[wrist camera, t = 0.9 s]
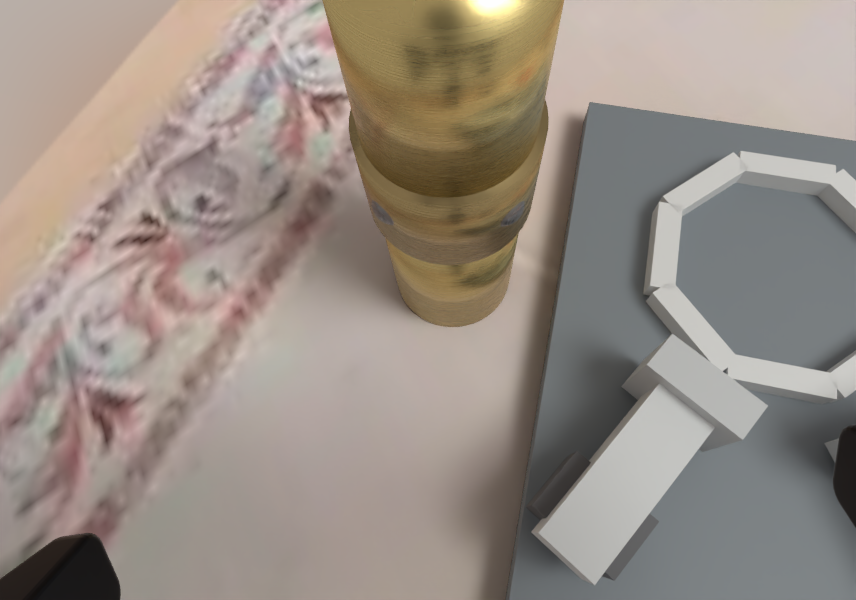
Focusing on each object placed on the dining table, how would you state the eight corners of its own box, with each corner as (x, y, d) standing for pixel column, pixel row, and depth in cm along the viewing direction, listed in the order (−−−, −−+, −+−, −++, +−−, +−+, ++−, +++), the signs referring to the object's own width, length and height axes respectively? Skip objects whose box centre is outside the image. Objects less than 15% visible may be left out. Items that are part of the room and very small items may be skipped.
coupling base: (1007, 810, 16) (1194, 907, 12) (493, 672, 18) (503, 716, 14) (955, 177, 23) (1065, 101, 19) (584, 121, 25) (608, 40, 20)
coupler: (546, 275, 22) (667, -81, 9) (450, 363, 21) (432, 107, 8) (455, 192, 24) (447, -218, 11) (361, 271, 23) (224, -73, 10)
